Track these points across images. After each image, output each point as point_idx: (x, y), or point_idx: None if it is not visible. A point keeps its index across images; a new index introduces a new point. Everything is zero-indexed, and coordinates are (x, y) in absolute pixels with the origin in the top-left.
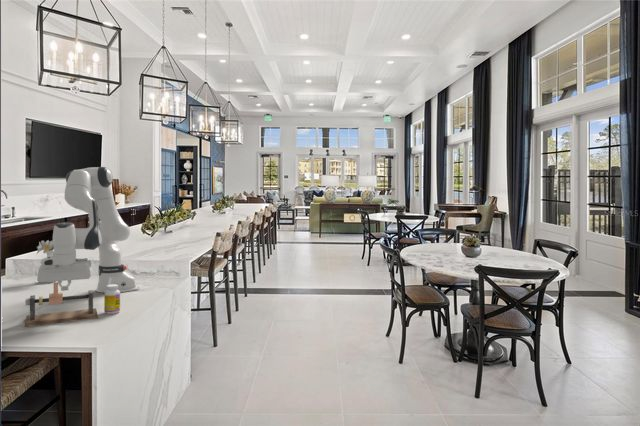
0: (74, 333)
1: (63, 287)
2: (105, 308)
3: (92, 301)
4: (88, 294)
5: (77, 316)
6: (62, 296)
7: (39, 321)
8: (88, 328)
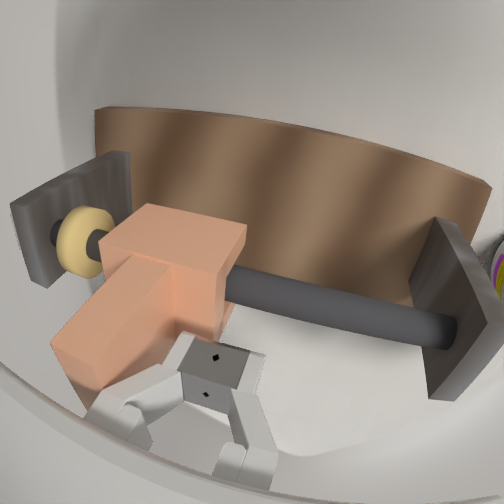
0: (277, 399)
1: (195, 396)
2: (500, 286)
3: None
4: (450, 345)
5: (338, 289)
6: (218, 338)
7: None
8: (331, 391)
